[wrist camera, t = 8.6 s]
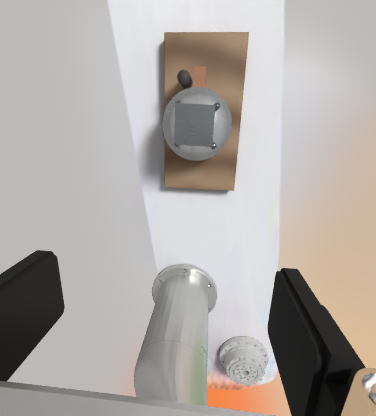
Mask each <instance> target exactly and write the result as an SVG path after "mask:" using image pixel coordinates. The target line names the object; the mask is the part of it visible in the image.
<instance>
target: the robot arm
mask: <svg viewBox="0 0 376 416" xmlns="http://www.w3.org/2000/svg"><path fill="white" fill-rule="evenodd" d="M152 296H153V300H154V302H155V307H154V310H153V313H152V316H151V319H150V323H149V326H148V329H147V332H146V335H145V338H144V341H143V345H142V347H141V351H140V354H139V357H138V360H137V363H136V367H135V373H134V387H135V392H136V396H137V397H132V396H123V395H115V394H106V393H99V392H90V391H82V390H74V389H65V388H57V387H48V386H40V385H32V384H23V383H14V382H7V380H8V379H9V378H10V377H11V376H12V374H13V373H14V372H15V371H16V370H17V368H18V367H19V366H20V365H21V364H22V362H23V361H24V360H25V359H26V358H27V356H28V355H29V354H30V353H31V352H32V350H33V349H34V348H35V347H36V346H37V344H38V343H39V342H40V341H41V339H42V338H43V337H44V336H45V335H46V334H47V332H48V331H49V330H50V329H51V328H52V326H53V325H54V324H55V323H56V322H57V320H58V319H59V318H60V317H61V315H62V314H63V312H64V300H63V294H62V287H61V280H60V273H59V267H58V261H57V256H56V255H54V253H53V252H51V251H40V250H39V251H38V250H37V251H35V252H34V253H32V254H30V255H29V256H28V257H26V258H24V259H23V260H21V261H20V262H18V263H17V264H15V265H14V266H12V267H11V268H9V269H8V270H6V271H5V272H3V273H2V274H0V416H273V415H266V414H260V413H253V412H246V411H239V410H233V409H226V408H218V407H210V406H207V352H208V313H210V312H211V310H212V309H213V308H214V306H215V304H216V299H217V291H216V286H215V284H214V282H213V280H212V278H211V277H210V276H209V275H208V274H207V273H206V272H204V271H203V270H201V269H199V268H197V267H194V266H191V265H174V266H171V267H168V268H166V269H164V270H163V271H162V272H161V273H160V274H159V275H158V276H157V277H156V279H155V282H154V284H153V288H152ZM268 335H269V339H270V342H271V346H272V349H273V353H274V356H275V359H276V363H277V366H278V370H279V373H280V377H281V380H282V384H283V387H284V390H285V394H286V398H287V401H288V405H289V408H290V412H291V415H292V416H376V369H374V368H365V366H364V364H363V363H362V361H361V360H360V358H359V357H358V355H357V354H356V353H355V351H354V349H353V348H352V346H351V345H350V344H349V342H348V340H347V339H346V337H345V336H344V335H343V333H342V332H341V330H340V328H339V327H338V326H337V324H336V322H335V321H334V320H333V318H332V316H331V315H330V313H329V312H328V310H327V309H326V308H325V307H324V306H323V305H321V304H320V303H319V301H318V300H317V298H316V297H315V295H314V293H313V292H312V291H311V289H310V288H309V286H308V284H307V283H306V281H305V280H304V278H303V277H302V275H301V274H300V272H299V270H298V269H288V268H282V269H281V271H277V272H276V276H275V282H274V289H273V295H272V301H271V308H270V314H269V321H268Z"/></svg>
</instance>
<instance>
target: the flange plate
mask: <svg viewBox="0 0 376 416" xmlns="http://www.w3.org/2000/svg"><path fill="white" fill-rule="evenodd" d="M206 72H207V67H205V66H194V77H193V87H191V88H187V89H185V90H183V91H181V92H179V93H178V94H176V95H175V96H174V97H173V98H172V99H171V100H170V102H169V103H168V105H167V107H166V109H165V111H164V115H163V121H162V128H163V134H164V137H165V140H166V142H167V144H168V145H169V147H170V148H171V149H172V150H173V151H174V152H175V153H176V154H177V155H179V156H181V157H183V158H185V159H188V160H193V161H200V160H205V159H208V158H211V157H213V156H214V155H216V154H217V153H219V152H220V151H221V150H222V149H223V147H224V146H225V145H226V143H227V141H228V139H229V137H230V133H231V128H232V118H231V113H230V110H229V108H228V106H227V104H226V102H225V101H224V99H223V98H222V97H221V96H220V95H219V94H217V93H216V92H214V91H213V90H210V89H208V88H205V87H206Z"/></svg>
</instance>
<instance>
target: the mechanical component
mask: <svg viewBox="0 0 376 416" xmlns="http://www.w3.org/2000/svg"><path fill="white" fill-rule="evenodd" d="M220 362H221V364H222V366H223V367H224V368H225V369H226V372H227V375H228V376H229V378H230V379H232V380H233V381H235V383H242V384H244V385H245V386H246V385H247V384H248V385H251V383H253V384H255V382H258V381H259V380H262V377H263V376H264V374H265V370H264V368H265V367H266V366H267V363H268V355H267V351H266V348H265V347H264V345H263V344H262V343H261V342H259V341H258V340H256V339H254V338H250V337H243V336H241V337H234V338H232V339H229V340H228V341H226V342H225V343H224V344H223V345H222V346H221V349H220Z"/></svg>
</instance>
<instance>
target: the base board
mask: <svg viewBox="0 0 376 416" xmlns="http://www.w3.org/2000/svg"><path fill="white" fill-rule="evenodd" d="M248 37H249V32H164V65H165V109H166V107H167V105H168V103H169V102H170V100H171V99H172V98H173V97H174V96H175V95H176V94H178V93H179V92H181V91H183V90H185V89H187V88H191V87H193V77H194V66H205V67H207V72H206V87H205V88H208V89H210V90H213V91H214V92H216V93H217V94H219V95H220V96H221V97H222V98H223V99H224V101H225V102H226V104H227V106H228V108H229V110H230V113H231V118H232V128H231V133H230V137H229V139H228V141H227V143H226V145H225V146H224V147H223V149H222V150H221V151H220V152H219V153H217V154H216V155H214V156H213V157H211V158H208V159H205V160H200V161H193V160H188V159H185V158H183V157H181V156H179V155H177V154H176V153H175V152H174V151H173V150H172V149H171V148H170V147H169V145H168V144H167V142H166V140H165V187H174V188H193V189H212V190H231V191H234V184H235V174H236V163H237V153H238V142H239V132H240V121H241V110H242V100H243V89H244V79H245V68H246V58H247V47H248Z"/></svg>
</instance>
